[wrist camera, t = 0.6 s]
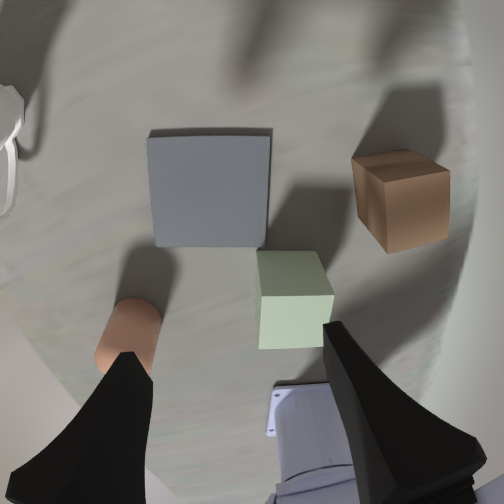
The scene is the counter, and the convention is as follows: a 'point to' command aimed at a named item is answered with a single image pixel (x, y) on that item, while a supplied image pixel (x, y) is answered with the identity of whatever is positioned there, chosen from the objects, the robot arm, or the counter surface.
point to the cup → (10, 139)
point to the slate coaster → (209, 190)
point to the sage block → (291, 299)
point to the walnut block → (402, 198)
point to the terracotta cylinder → (129, 333)
